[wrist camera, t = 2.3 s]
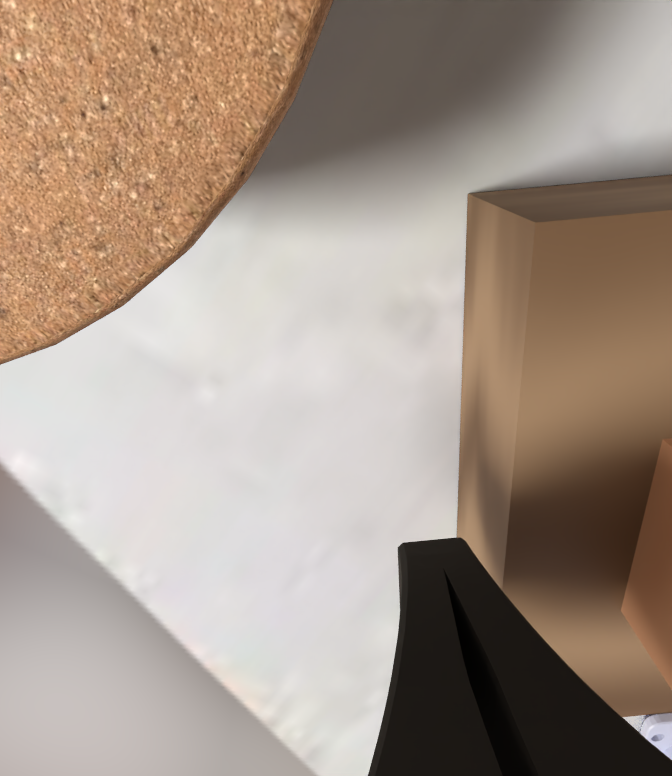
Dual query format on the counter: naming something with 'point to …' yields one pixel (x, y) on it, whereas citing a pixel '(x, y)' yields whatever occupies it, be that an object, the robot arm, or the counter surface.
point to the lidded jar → (128, 142)
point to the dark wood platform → (568, 411)
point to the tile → (654, 570)
